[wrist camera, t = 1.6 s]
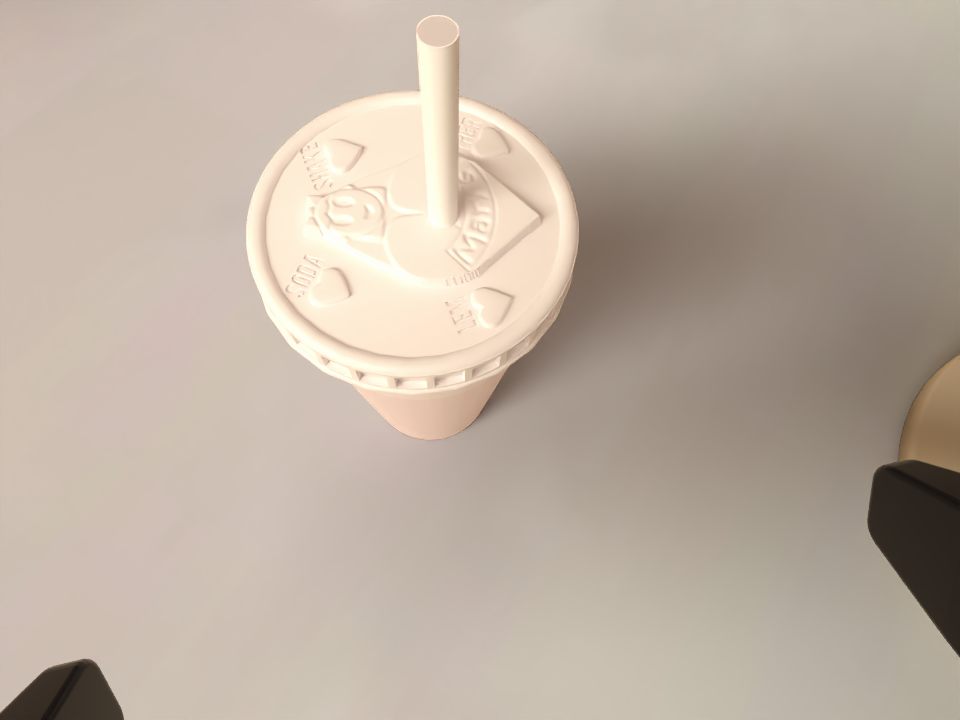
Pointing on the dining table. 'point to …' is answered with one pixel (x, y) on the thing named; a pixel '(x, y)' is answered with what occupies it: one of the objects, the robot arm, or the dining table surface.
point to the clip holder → (935, 421)
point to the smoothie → (415, 244)
